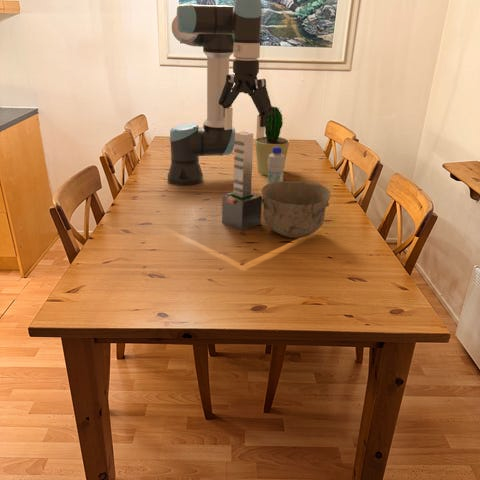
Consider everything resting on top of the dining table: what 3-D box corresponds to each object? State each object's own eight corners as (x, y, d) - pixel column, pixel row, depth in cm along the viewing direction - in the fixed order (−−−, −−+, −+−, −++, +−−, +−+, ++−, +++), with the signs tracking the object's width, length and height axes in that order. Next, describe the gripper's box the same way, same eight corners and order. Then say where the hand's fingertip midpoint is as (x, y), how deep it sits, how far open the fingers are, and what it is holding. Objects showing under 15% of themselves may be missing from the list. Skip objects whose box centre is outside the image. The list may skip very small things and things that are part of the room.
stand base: (211, 225, 151) (211, 194, 146) (240, 214, 160) (241, 185, 155) (241, 239, 142) (242, 206, 137) (270, 226, 151) (272, 196, 147)
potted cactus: (294, 174, 205) (299, 106, 192) (267, 179, 197) (271, 109, 184) (273, 165, 216) (277, 101, 203) (247, 170, 208) (249, 103, 195)
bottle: (281, 200, 174) (285, 149, 165) (264, 199, 175) (267, 148, 166) (283, 194, 180) (287, 145, 171) (267, 193, 181) (269, 144, 172)
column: (231, 200, 147) (233, 133, 137) (241, 197, 150) (243, 131, 140) (241, 204, 144) (243, 135, 134) (251, 201, 147) (254, 133, 138)
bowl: (281, 255, 133) (285, 208, 127) (246, 227, 150) (248, 184, 144) (340, 241, 143) (346, 197, 136) (301, 217, 160) (305, 176, 153)
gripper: (207, 55, 134) (207, 127, 143) (270, 63, 118) (266, 143, 128) (225, 55, 138) (224, 124, 148) (288, 62, 123) (283, 139, 133)
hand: (243, 133), depth 138 cm, fingers open, 13 cm apart
